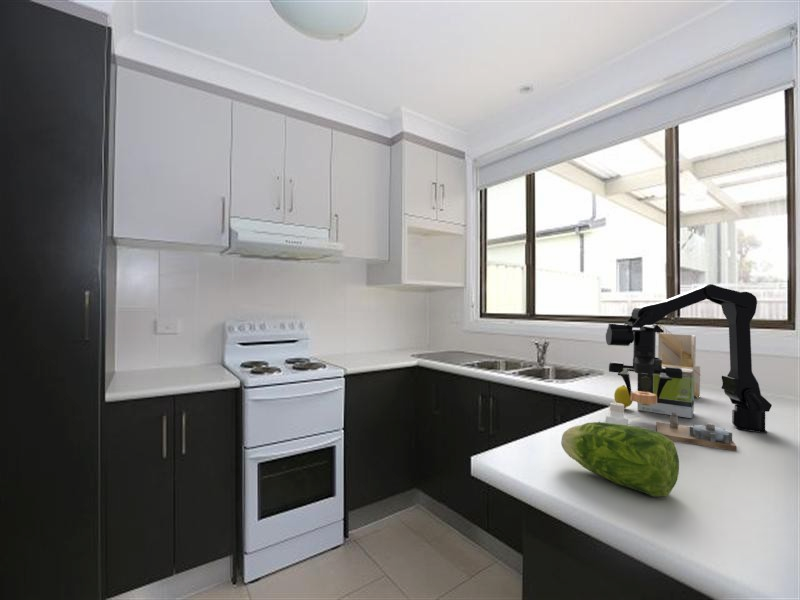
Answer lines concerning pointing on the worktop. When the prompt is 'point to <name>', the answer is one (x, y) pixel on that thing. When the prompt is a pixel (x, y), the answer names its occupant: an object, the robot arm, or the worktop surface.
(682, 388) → the tea box
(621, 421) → the pepper shaker
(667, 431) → the gear board
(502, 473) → the worktop surface
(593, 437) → the lettuce
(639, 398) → the gear
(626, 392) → the lemon
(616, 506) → the worktop surface
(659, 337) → the cream block pieces
